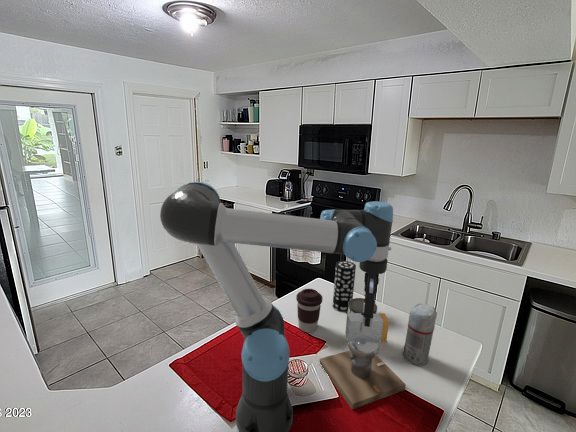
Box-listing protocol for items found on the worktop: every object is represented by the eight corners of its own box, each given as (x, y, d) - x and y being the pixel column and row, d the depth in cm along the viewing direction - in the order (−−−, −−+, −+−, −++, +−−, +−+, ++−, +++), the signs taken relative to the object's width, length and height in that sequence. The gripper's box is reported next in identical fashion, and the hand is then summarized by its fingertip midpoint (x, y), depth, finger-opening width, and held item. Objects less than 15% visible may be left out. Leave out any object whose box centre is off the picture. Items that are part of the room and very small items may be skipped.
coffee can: (372, 332, 122) (376, 299, 119) (373, 349, 113) (378, 314, 109) (345, 328, 124) (348, 296, 121) (344, 344, 115) (348, 310, 111)
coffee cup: (313, 338, 118) (316, 302, 114) (290, 329, 122) (292, 294, 118) (324, 324, 126) (326, 290, 122) (302, 316, 131) (304, 284, 127)
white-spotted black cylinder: (328, 305, 140) (332, 264, 134) (340, 299, 145) (344, 259, 140) (343, 314, 134) (347, 270, 128) (355, 307, 139) (359, 265, 134)
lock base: (352, 409, 88) (355, 379, 85) (319, 363, 105) (321, 337, 102) (404, 389, 95) (409, 362, 93) (366, 350, 112) (369, 325, 110)
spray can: (433, 366, 105) (443, 314, 100) (409, 367, 105) (417, 314, 99) (421, 349, 113) (429, 300, 108) (398, 350, 113) (406, 300, 107)
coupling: (348, 358, 93) (351, 325, 90) (342, 338, 102) (345, 308, 99) (387, 359, 93) (391, 326, 90) (378, 339, 102) (382, 309, 99)
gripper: (389, 271, 80) (379, 350, 86) (386, 247, 97) (378, 314, 103) (358, 267, 82) (351, 344, 88) (361, 244, 99) (355, 310, 105)
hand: (366, 328), depth 95 cm, fingers closed on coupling, 5 cm apart
